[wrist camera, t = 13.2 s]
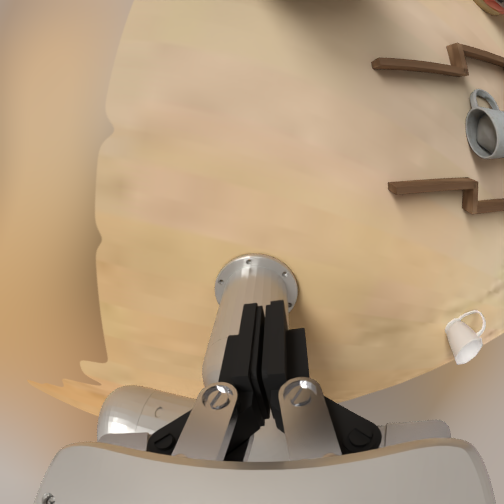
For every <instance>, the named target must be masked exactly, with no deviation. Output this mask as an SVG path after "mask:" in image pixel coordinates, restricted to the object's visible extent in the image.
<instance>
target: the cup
mask: <svg viewBox="0 0 504 504" xmlns="http://www.w3.org/2000/svg"><path fill="white" fill-rule="evenodd" d="M473 313H479V314H480V315H481V317H482V320H483V327H482V329H481V330H480V331H479V332H478V333H475V332H474V331H473V330H472V329H471V328H470V327H469V326H468V325H467V324H465V323H464V322H463V321H461V319H462V318H463V317H465V316H467V315H470V314H473ZM485 326H486V321H485V318H484V316H483V315H482V313H481V312H479V311H477V310H473V311H469V312H467V313H464V314H463V315H461V316H460V317H459V318H454V319H453V320H451V321H450V322H449V323H448V324H447V326H446V328H445V332H446V335H447V338H448V341H449V344H450V347H451V349H452V352H453V355H454V358H455V361H456V363H457V365H458V364H465V363H467V362H468V361H470V360H471V359H472V358H474V357H475V356H476V355H477V353H478V352H479V350H480V349H481V347H482V345H483V344H482V339H481V337H480V335H481V334H482V333H483V331H484V329H485Z"/></svg>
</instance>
